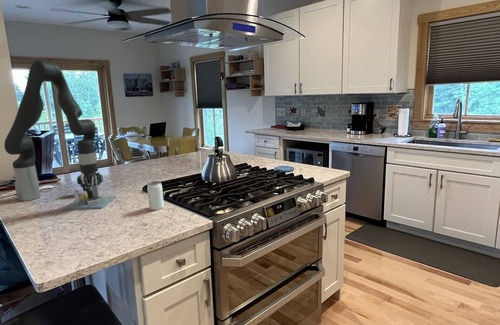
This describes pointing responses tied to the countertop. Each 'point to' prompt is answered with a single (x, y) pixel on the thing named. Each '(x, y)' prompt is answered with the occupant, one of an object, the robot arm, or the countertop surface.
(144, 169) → the countertop surface
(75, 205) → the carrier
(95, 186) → the planet gear
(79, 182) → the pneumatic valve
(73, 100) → the robot arm
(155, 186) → the can
